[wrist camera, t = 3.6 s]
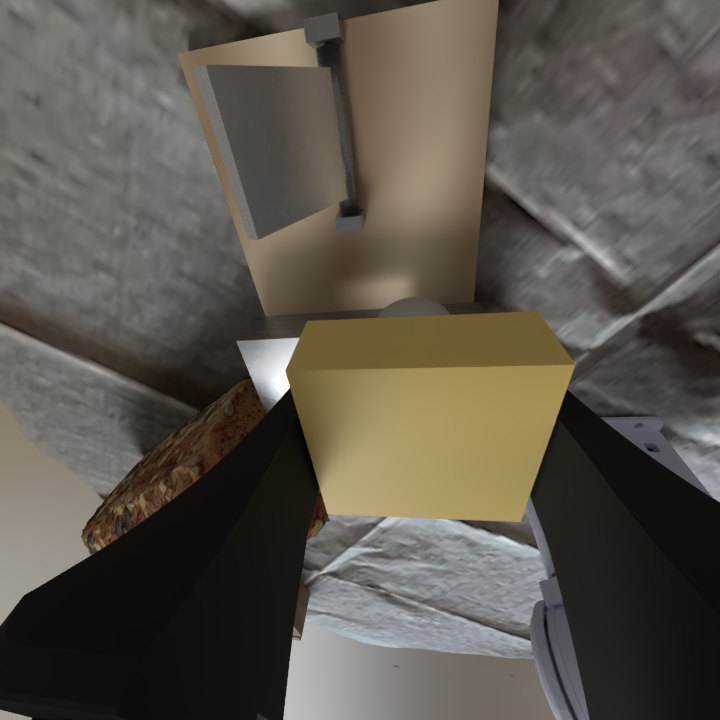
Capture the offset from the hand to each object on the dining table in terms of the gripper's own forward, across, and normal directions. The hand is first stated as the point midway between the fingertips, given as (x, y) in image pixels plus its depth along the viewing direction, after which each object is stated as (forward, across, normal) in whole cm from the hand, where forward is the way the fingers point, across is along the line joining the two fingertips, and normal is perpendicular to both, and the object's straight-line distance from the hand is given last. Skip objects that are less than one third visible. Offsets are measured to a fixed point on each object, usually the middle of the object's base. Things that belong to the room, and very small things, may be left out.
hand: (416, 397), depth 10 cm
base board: (+10, +3, -1) cm, 11 cm away
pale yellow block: (+3, 0, 0) cm, 3 cm away
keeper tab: (+7, +4, -6) cm, 10 cm away
